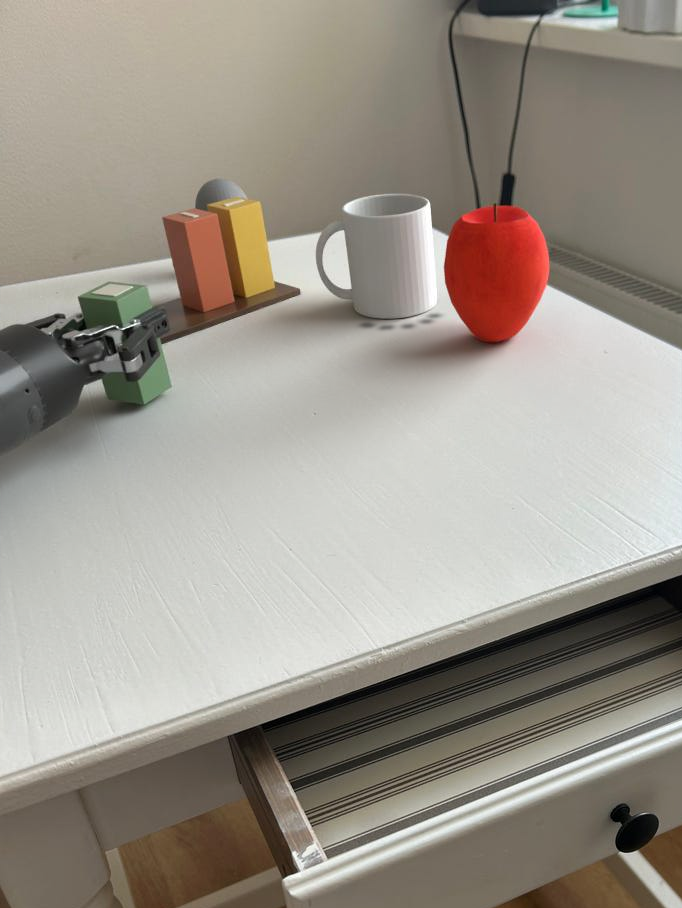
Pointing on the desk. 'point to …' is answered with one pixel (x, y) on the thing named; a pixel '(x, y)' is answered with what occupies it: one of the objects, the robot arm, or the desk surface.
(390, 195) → the mug
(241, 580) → the desk surface
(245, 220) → the yellow slotted money box
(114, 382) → the green rectangular block
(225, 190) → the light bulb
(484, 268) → the apple
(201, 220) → the block
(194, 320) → the dark brown rectangular board
